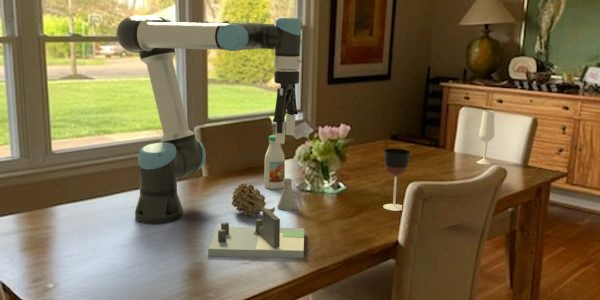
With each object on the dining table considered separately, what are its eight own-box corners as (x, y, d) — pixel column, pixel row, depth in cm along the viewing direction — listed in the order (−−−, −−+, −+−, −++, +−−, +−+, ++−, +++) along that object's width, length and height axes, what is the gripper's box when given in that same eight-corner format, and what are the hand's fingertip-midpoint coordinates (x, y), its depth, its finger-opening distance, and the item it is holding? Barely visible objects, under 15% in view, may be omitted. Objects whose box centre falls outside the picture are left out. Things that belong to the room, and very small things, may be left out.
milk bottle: (261, 188, 227) (262, 137, 223) (267, 183, 235) (268, 133, 230) (281, 190, 225) (282, 138, 221) (286, 185, 233) (287, 134, 228)
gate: (254, 230, 175) (254, 204, 174) (262, 229, 176) (262, 203, 175) (272, 247, 162) (272, 220, 161) (280, 246, 163) (281, 218, 162)
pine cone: (223, 212, 199) (222, 183, 197) (245, 206, 206) (245, 178, 204) (266, 229, 184) (267, 198, 182) (289, 222, 191) (289, 192, 188)
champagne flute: (475, 163, 274) (480, 111, 269) (477, 160, 280) (481, 109, 275) (490, 165, 271) (495, 112, 266) (492, 161, 277) (497, 110, 272)
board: (208, 255, 163) (207, 238, 162) (218, 232, 180) (217, 216, 179) (304, 258, 162) (304, 240, 161) (304, 234, 180) (305, 218, 179)
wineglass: (386, 202, 213) (389, 147, 209) (409, 206, 209) (413, 150, 205) (377, 207, 207) (380, 151, 202) (401, 212, 202) (404, 155, 198)
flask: (295, 211, 201) (296, 183, 199) (274, 209, 203) (275, 181, 201) (299, 205, 208) (300, 177, 206) (279, 203, 210) (280, 176, 207)
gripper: (289, 74, 167) (287, 148, 172) (307, 67, 191) (305, 132, 196) (264, 73, 169) (262, 146, 174) (284, 66, 193) (283, 130, 197)
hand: (285, 139), depth 185 cm, fingers open, 13 cm apart
